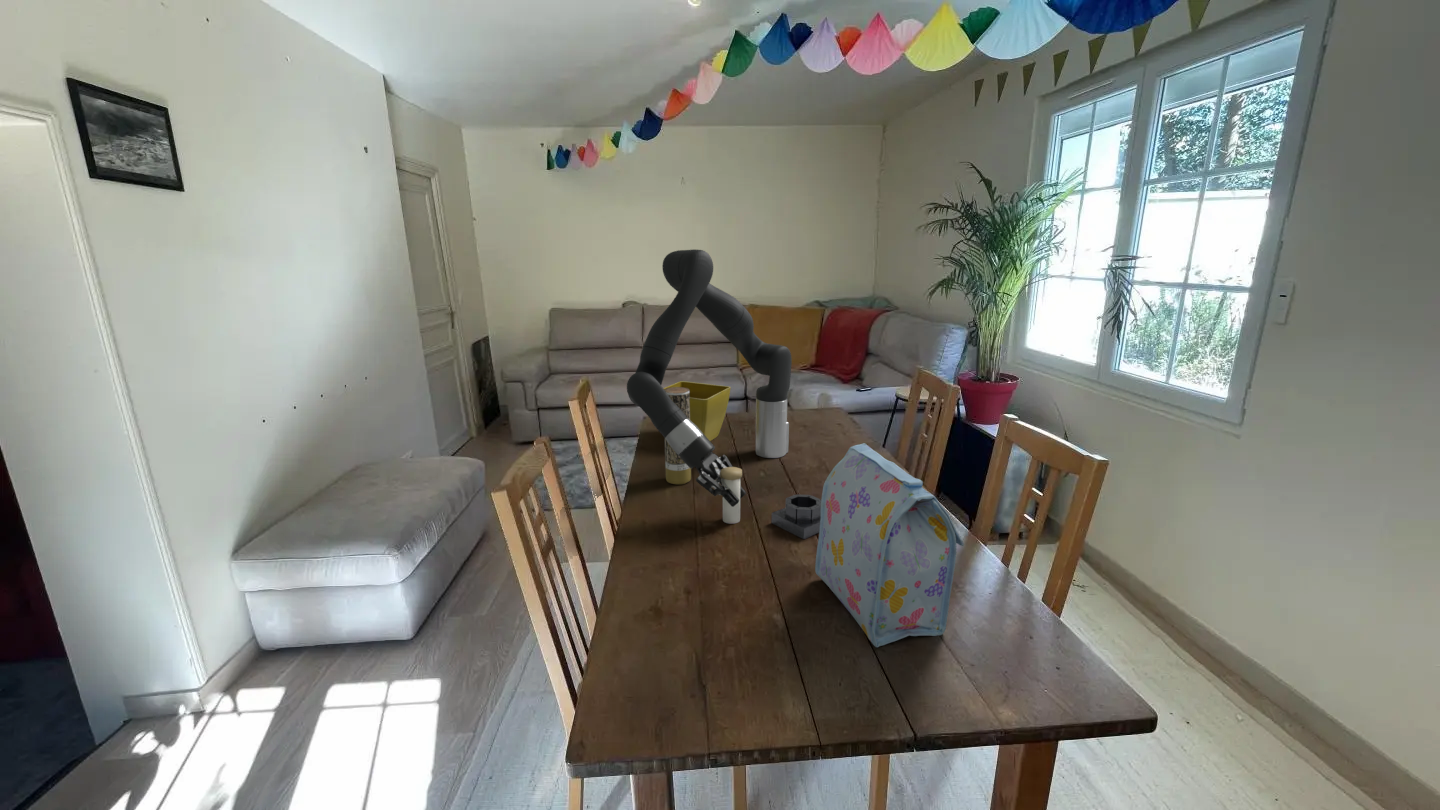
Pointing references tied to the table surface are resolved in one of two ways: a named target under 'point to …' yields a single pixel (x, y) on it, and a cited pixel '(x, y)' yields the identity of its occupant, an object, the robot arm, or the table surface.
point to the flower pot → (706, 406)
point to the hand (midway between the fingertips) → (739, 499)
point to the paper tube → (674, 464)
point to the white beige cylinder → (733, 483)
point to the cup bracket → (799, 515)
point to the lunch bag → (886, 548)
